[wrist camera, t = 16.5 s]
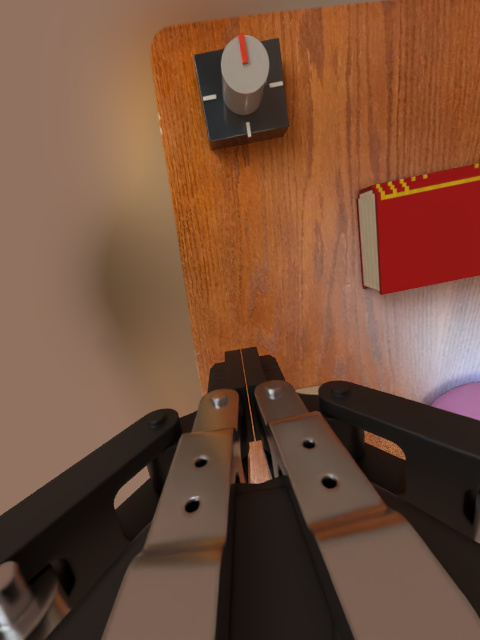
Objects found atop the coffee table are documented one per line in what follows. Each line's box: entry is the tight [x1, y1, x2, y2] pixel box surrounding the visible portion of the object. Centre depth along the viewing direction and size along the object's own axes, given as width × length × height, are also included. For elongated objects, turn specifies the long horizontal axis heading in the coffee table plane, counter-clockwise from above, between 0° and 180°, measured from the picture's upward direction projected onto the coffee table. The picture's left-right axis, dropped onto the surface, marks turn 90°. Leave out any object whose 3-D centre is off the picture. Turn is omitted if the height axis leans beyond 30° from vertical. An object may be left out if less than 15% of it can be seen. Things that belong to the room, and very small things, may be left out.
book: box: [357, 163, 480, 295], centre depth 34 cm, size 18×13×5 cm
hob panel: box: [193, 38, 289, 150], centre depth 30 cm, size 9×9×3 cm
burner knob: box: [221, 33, 269, 115], centre depth 27 cm, size 4×4×5 cm
